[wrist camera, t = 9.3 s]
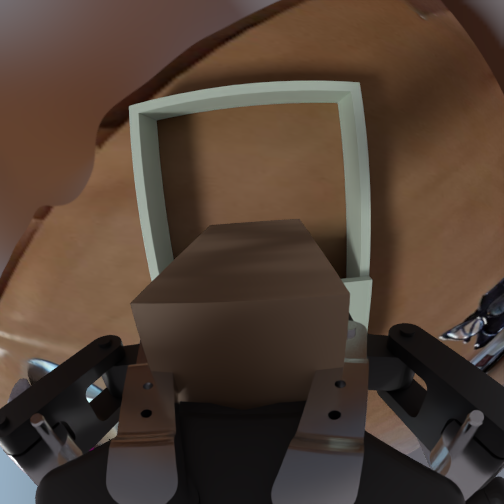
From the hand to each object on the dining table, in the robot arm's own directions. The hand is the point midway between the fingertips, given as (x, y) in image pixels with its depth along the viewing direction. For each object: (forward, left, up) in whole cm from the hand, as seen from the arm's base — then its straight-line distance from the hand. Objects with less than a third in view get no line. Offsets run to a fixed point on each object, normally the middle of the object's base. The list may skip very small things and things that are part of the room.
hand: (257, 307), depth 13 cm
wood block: (0, 0, -2) cm, 2 cm away
